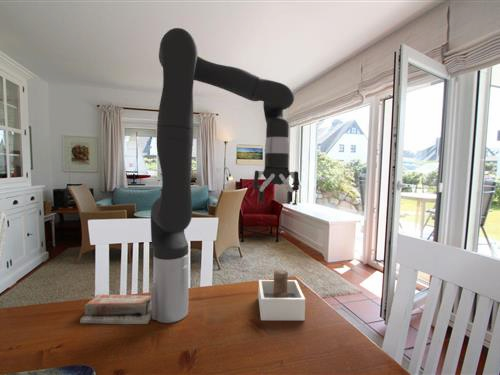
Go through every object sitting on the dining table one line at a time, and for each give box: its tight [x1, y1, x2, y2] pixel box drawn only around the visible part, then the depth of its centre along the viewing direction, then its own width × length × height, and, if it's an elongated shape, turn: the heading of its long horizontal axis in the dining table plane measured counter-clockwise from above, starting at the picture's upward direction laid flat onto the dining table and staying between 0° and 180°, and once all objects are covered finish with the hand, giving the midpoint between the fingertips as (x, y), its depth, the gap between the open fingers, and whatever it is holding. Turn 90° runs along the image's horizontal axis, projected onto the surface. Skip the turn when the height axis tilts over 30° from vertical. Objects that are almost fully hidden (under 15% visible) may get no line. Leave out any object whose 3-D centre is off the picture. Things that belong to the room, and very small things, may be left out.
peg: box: [273, 269, 289, 298], centre depth 77 cm, size 4×4×11 cm
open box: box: [257, 279, 306, 321], centre depth 77 cm, size 12×12×6 cm
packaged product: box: [79, 294, 152, 325], centre depth 73 cm, size 18×5×10 cm
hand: (275, 203), depth 84 cm, fingers open, 8 cm apart
